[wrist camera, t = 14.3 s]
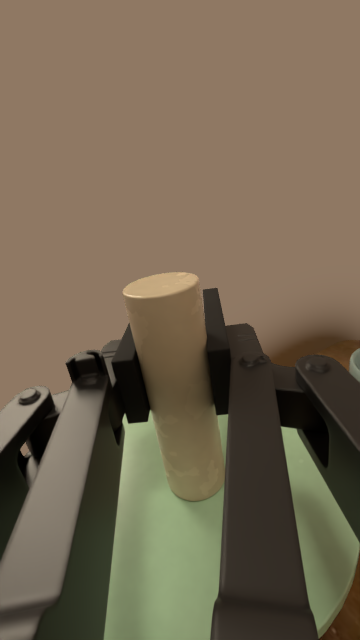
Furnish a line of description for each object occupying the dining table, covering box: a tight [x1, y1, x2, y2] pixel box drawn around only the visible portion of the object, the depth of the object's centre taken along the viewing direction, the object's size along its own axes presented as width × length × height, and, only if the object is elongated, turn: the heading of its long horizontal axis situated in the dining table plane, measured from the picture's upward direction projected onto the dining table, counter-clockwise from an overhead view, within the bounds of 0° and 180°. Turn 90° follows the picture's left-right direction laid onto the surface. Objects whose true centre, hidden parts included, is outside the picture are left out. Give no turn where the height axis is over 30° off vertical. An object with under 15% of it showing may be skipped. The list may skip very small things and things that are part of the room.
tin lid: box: [104, 272, 360, 640], centre depth 13 cm, size 13×13×10 cm
